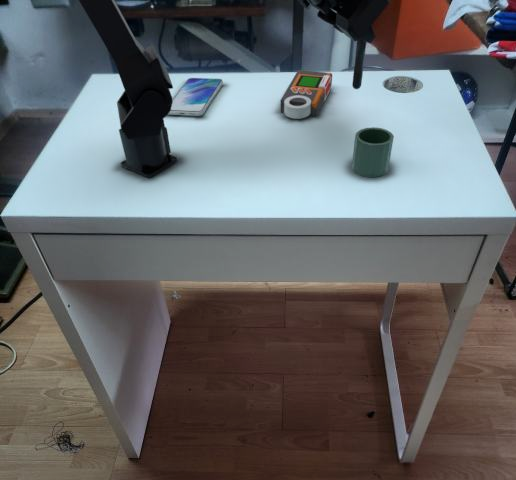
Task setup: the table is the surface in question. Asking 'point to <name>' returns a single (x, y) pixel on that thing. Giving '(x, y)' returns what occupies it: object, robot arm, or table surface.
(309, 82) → the electronic device
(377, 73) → the table surface
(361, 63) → the stylus
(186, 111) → the smartphone
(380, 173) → the pen cup
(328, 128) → the table surface
